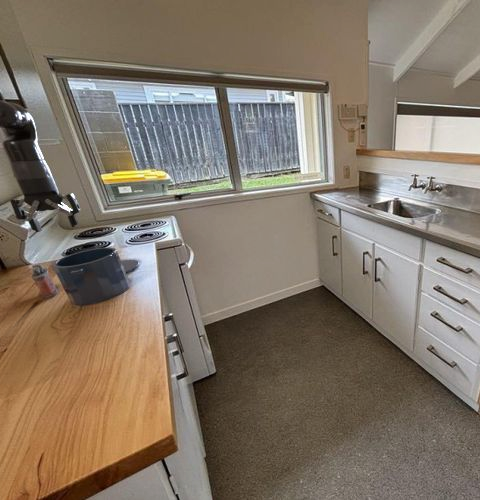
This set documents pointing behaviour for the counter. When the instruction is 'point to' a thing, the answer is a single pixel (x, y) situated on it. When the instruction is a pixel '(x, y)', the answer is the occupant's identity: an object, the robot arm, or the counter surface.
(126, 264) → the pot lid
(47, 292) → the lighter
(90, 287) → the pot
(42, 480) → the counter surface
